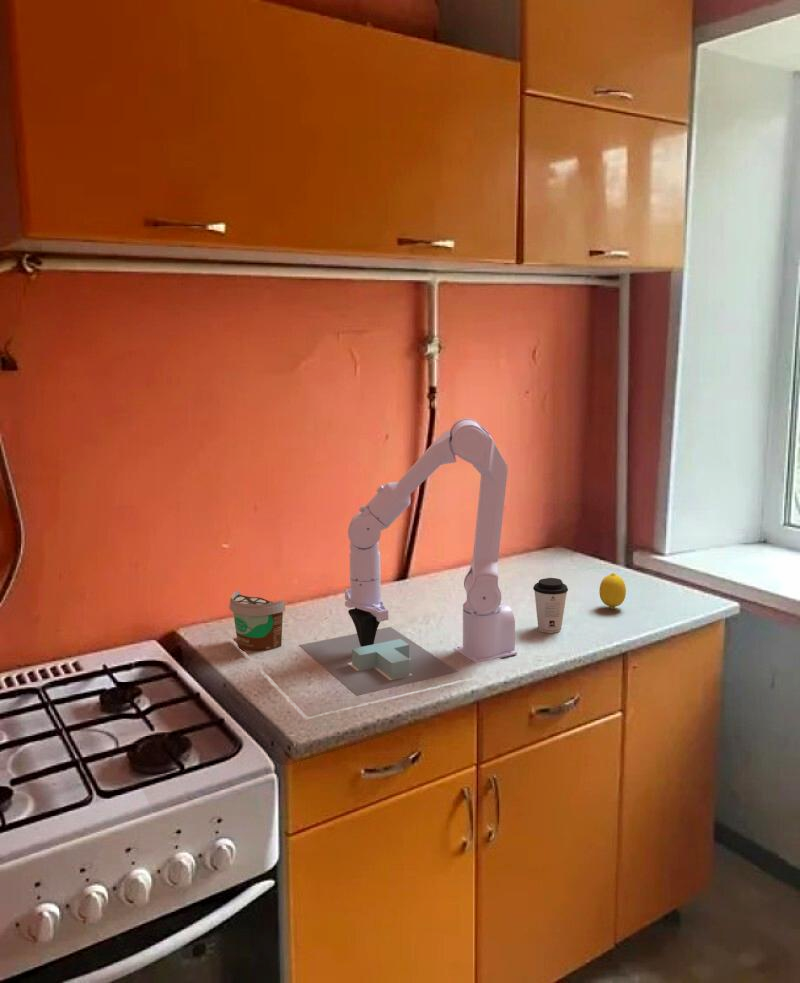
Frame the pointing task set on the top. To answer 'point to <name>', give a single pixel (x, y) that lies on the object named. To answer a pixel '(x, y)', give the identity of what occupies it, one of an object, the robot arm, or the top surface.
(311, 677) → the top surface
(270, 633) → the food container
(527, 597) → the top surface
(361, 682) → the mat
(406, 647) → the t block
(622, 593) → the lemon
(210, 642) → the top surface
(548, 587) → the coffee cup
